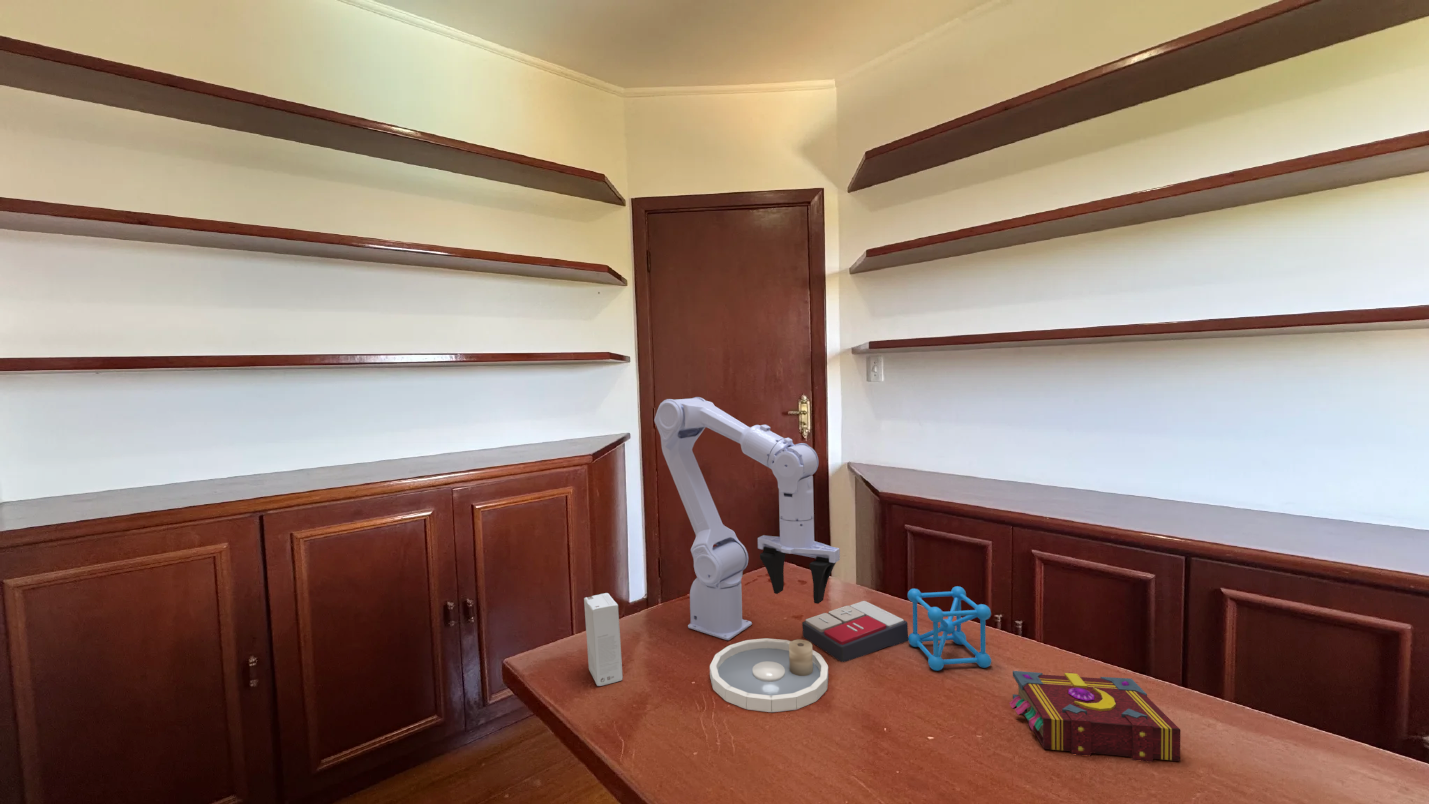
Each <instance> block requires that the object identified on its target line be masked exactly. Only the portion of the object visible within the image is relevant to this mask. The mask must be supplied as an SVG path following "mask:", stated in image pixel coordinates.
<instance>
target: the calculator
mask: <svg viewBox="0 0 1429 804" xmlns="http://www.w3.org/2000/svg"><path fill="white" fill-rule="evenodd" d="M801 625H802V627H801V628H802V637H803V638H804V639H806V640H807V641H809V642H811V643H812V645H813V644H814V645H815V646H817V647H818V648H820V649H821V650H822V651H824V652H825V653H827V654H829V655H830V656H832V657H833V658H835V659H836V660H837V661H839V662H841V663H846V662H849V661H851V660H855V659H858V658H861V657H865V656H866V655H867V656H868V655H869V654H873V653H875V652H877V651H879V650H882V649H884V648H887V647H894V646H897V645H900V644H903V643H906V642H909V641H908V637H909V630H908V629H909V628H908V627H909V626H908V621H906V620H904V619H903V618H901V617H899V616H897V615H895V614H894V613H891V612H889V611H886V610H885V609H883V608H881V607H879V606H877V605H874V604H873V603H870V602H868V601H867V600H861V601H859V602H856V603H853V604H850V605H845V606H841V607H839V608H835V609H833V610H829V611H828V613H827V612H823V613H820V614H818V615H815V616H812V617H809V618H805V621H802V623H801Z"/></svg>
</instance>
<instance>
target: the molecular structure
mask: <svg viewBox="0 0 1429 804" xmlns="http://www.w3.org/2000/svg"><path fill="white" fill-rule="evenodd" d="M938 597H939V598H940V597H952V598H953V601H952V604H951V608H950V611H949V610H948V611H943V610H942V609H941V608H939V607H938V606H930V605H929V604H928V603H927V602H925V601H924V600H923V599H924V598H938ZM907 598H908V600H909V601H910V602H912V632H911V633H910V634H908V641H907V642H908V643H909V645H910V646H911V647H914V648H920V650H921V651H922V652H923V653H924V655H925V656H926V657H927V658H928V660H927V664H928V666H929V668H931V670H933V671H936V672H937V671H941V670H942V669H943V668H944V666H945V665H961V664H975V663H976V665H978V666H979V667H980V668H983V669H985V668H986V669H987V668H988V667H990V666H991V663H992V657H991V655H989V654H988V653H987V652H986V650H987V649H986V643H987V642H986V640H987V639H986V620H989V619H990V618H991V616H992V612H991V608H990V607H989V606H988V605H986V604H984V603H983V604H982V603H980V604H976V603H975V602H974V601H973V600H971V599H970V598H969V597H967V593H966V590H965V589H964V588H963V587H961V586H960V585H959V586H958V585H957V586H954V587H952V589H951V591H937V592H936V591H935V592H934V591H933V592H921V591H920V589H918V588H911V589H909V591H907ZM962 601H964V602H965V603H967V604H968V605H969V606H971V607H972V608H973V609H970V610H969V609H967V610H962ZM918 603H919V604H920V606H922V607H923V608H924V609H925V610H926V611H927V617H928V619H929V620H930V621H931V622H932V629H931V630H929V631H927V632H925V633H922V634H920V633H918V631H919V630H918ZM945 617H946V618H945ZM954 617H955V619H956V620H954V621H953V619H954ZM976 618H978V619H979V620H980V621H979V622H980V624H979V625H980V626H979V627H980V629H979V630H980V635H979V636H980V646H979V647H980V651H978V650H977V649H976V648H975V647H974V646H973V645H971V643H969V642H968V641H967V636H966V634H965V632H964V631H962V624H963V623H967V622H968V621H972V620H973V619H976ZM939 633H942V635H939ZM946 641H953V643H954V644H956V645H963V646H965V647H966V648H967V650H969V651H970V653H972V654H973V655H974V656H975V657H963V658H950V659H949V658H948V659H947V658H946V659H943V658H942V653H943V650H944V648H945V644H946ZM923 642H924V643H925V642H927V643H928V642H933V644H932V647H933V649H932V650H933V652H932V653H933V654H932V653H931V652H930V651H929V650H928V649H927V648H926V646H925V645H923Z"/></svg>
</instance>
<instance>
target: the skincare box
mask: <svg viewBox="0 0 1429 804" xmlns="http://www.w3.org/2000/svg"><path fill="white" fill-rule="evenodd" d="M583 603H584V604H583V605H584V616H585V617H584V619H585V632H586V644H587V645H586V646H587V663H588V670H589V672H590V675H591V677H592V678H593V680H594V683H595V684H596V687H601V686H607V685H610V684H614V683H617V682H618V683H619V682H620V681H623V678H624V677H623V664H622V662H623V661H622V648H621V647H622V646H621V644H622V643H621V632H620V617H619V616H620V615H619V604H618V603H617V602H616V601H615V600H614V598H613V596H611V595H610V593H608V592H605V593H600V594H595V595H591V596H588V597H587V596H586V597H584V598H583Z"/></svg>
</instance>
